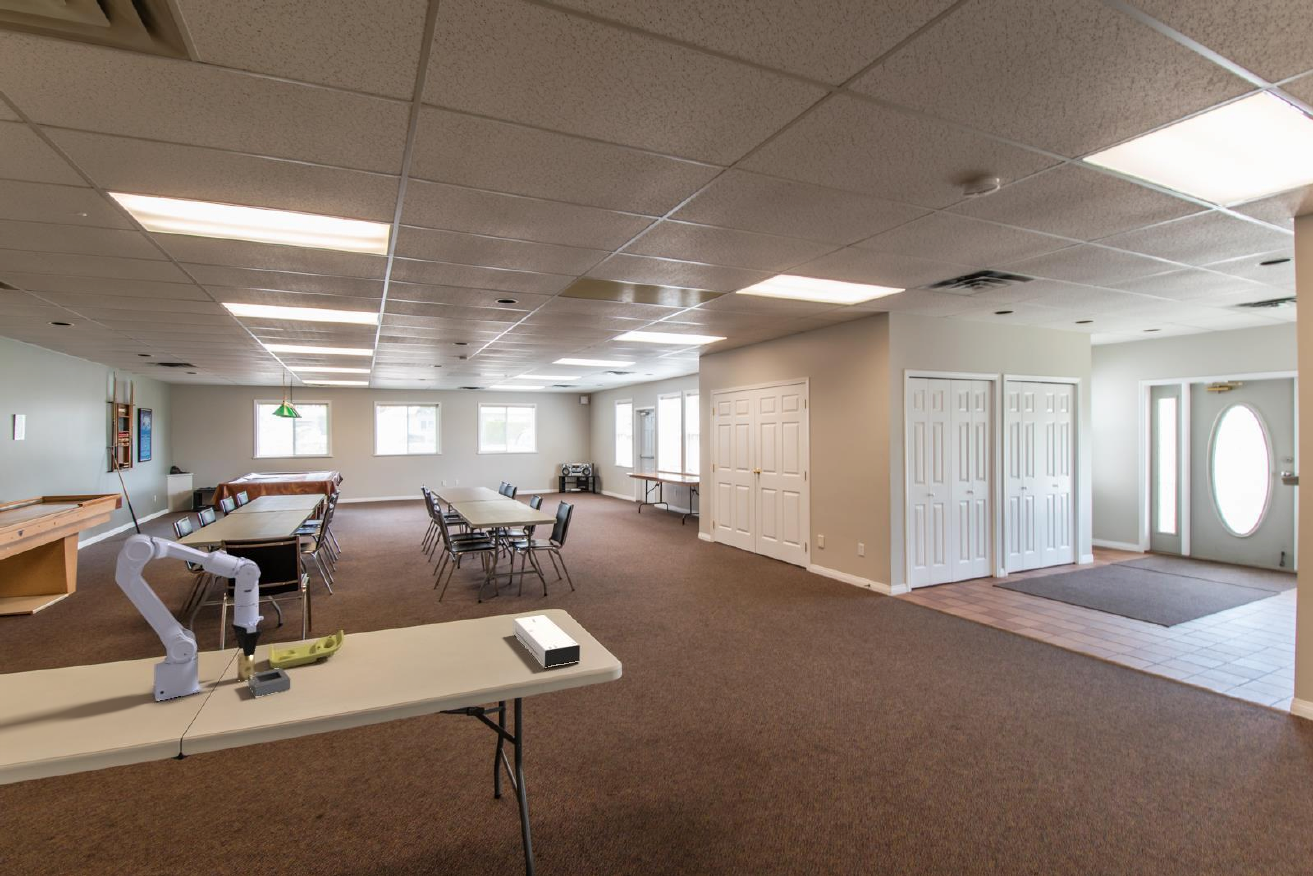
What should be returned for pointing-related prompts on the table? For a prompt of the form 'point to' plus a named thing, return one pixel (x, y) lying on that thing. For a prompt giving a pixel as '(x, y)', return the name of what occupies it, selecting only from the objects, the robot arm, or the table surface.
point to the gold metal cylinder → (245, 666)
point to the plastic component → (306, 652)
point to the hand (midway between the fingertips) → (246, 651)
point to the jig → (269, 682)
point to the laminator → (546, 640)
